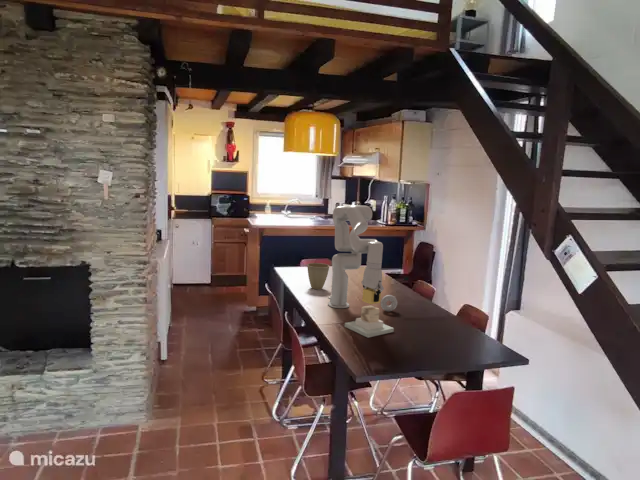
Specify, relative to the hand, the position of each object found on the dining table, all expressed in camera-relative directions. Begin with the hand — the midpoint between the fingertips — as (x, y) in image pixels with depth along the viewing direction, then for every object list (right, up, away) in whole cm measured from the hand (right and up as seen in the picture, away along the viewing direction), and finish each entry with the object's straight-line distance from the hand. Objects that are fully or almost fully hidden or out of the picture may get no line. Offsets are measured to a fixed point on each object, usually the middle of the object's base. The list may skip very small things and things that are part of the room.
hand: (371, 299), depth 249 cm
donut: (+14, -12, +36) cm, 40 cm away
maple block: (-1, -11, +2) cm, 11 cm away
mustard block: (0, -1, 0) cm, 1 cm away
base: (-1, -16, +3) cm, 16 cm away
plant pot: (-28, -2, +78) cm, 83 cm away
